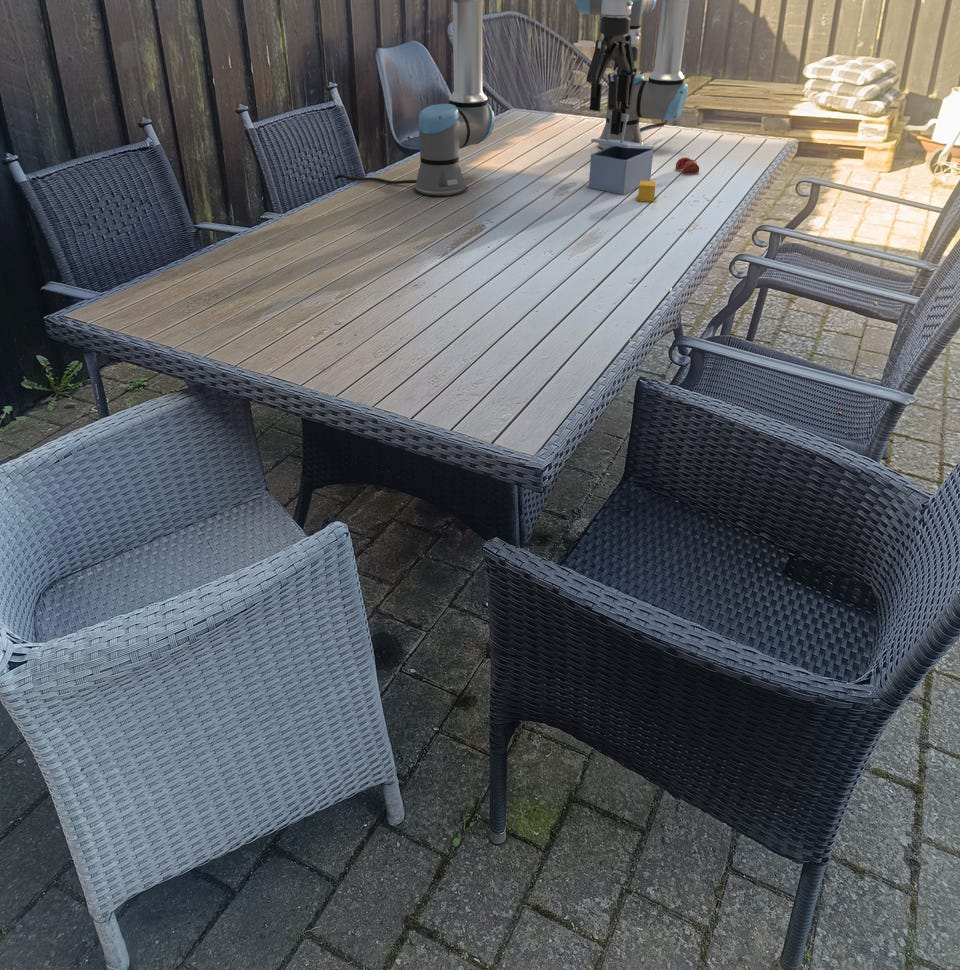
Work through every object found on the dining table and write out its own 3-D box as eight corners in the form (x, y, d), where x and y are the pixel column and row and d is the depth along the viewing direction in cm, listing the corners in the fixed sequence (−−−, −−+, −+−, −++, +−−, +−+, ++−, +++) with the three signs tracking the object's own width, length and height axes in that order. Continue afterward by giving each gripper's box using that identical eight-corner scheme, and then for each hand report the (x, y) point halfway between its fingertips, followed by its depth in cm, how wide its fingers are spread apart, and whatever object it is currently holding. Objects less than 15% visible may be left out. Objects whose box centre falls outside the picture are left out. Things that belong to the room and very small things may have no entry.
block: (653, 202, 249) (655, 185, 246) (637, 200, 249) (639, 184, 247) (654, 197, 252) (656, 181, 250) (638, 196, 253) (640, 180, 250)
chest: (623, 194, 254) (626, 160, 249) (588, 187, 260) (590, 154, 255) (650, 181, 266) (653, 149, 260) (615, 175, 272) (618, 143, 266)
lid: (627, 148, 246) (633, 115, 242) (591, 141, 252) (596, 109, 248) (653, 148, 260) (659, 117, 256) (618, 142, 266) (624, 112, 262)
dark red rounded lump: (690, 153, 276) (701, 160, 269) (689, 167, 278) (700, 174, 272) (674, 155, 275) (685, 162, 268) (673, 169, 277) (684, 175, 271)
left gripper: (602, 22, 204) (595, 116, 216) (653, 12, 219) (644, 100, 232) (576, 19, 207) (570, 112, 220) (628, 10, 223) (620, 96, 236)
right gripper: (623, 49, 230) (615, 140, 244) (649, 42, 240) (640, 130, 254) (600, 47, 234) (593, 136, 248) (626, 40, 244) (618, 126, 257)
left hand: (608, 106), depth 226 cm, fingers open, 13 cm apart
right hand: (617, 133), depth 251 cm, fingers closed on lid, 2 cm apart
